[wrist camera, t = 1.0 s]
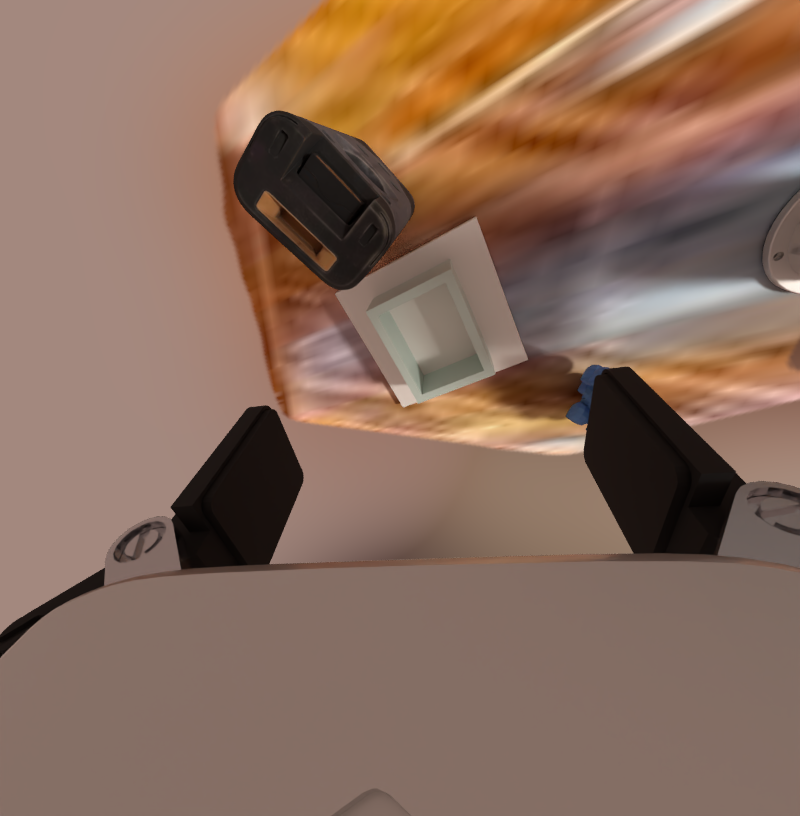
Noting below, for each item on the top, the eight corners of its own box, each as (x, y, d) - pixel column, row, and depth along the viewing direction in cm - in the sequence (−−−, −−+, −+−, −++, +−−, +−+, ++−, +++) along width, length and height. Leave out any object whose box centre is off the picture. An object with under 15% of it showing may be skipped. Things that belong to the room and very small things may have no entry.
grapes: (548, 353, 45) (577, 404, 35) (606, 339, 43) (654, 389, 33) (557, 424, 51) (584, 485, 41) (608, 414, 49) (650, 476, 39)
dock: (475, 216, 38) (480, 223, 33) (526, 356, 46) (536, 379, 41) (336, 291, 44) (323, 307, 39) (403, 403, 52) (399, 428, 47)
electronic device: (421, 205, 37) (403, 232, 21) (384, 248, 40) (342, 302, 24) (354, 129, 35) (271, 91, 18) (319, 182, 37) (219, 190, 21)
